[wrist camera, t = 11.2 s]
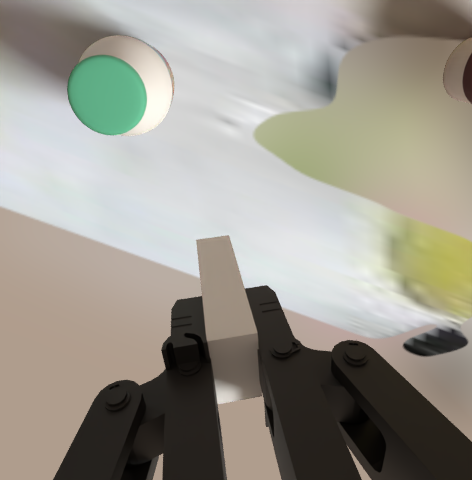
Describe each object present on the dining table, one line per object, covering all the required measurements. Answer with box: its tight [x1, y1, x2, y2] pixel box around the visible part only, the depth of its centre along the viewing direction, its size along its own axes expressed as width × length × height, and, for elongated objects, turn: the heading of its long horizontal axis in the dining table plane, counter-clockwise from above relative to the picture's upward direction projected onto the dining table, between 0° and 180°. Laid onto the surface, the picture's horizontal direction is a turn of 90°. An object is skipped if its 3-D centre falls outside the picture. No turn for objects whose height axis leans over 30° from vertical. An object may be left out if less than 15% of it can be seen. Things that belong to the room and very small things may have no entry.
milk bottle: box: [67, 35, 174, 136], centre depth 30 cm, size 8×8×20 cm
